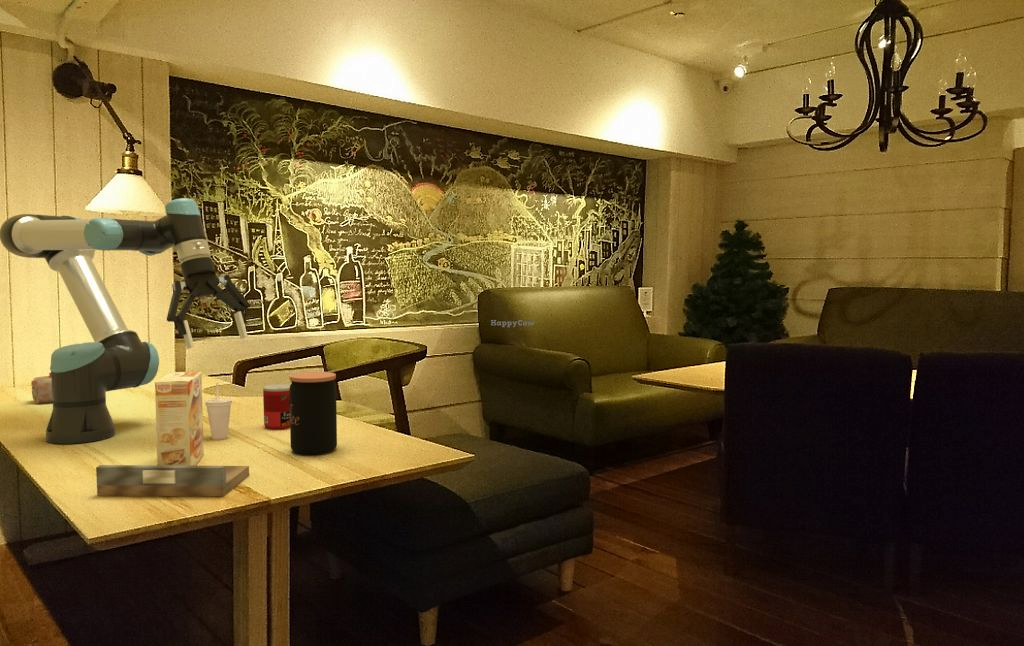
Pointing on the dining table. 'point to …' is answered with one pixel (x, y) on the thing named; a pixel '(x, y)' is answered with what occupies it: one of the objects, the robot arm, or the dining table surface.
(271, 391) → the canned food
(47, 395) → the food item
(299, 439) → the coffee jar
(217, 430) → the smoothie
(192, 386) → the coffeecake box
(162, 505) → the dining table surface
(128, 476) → the shelf board
